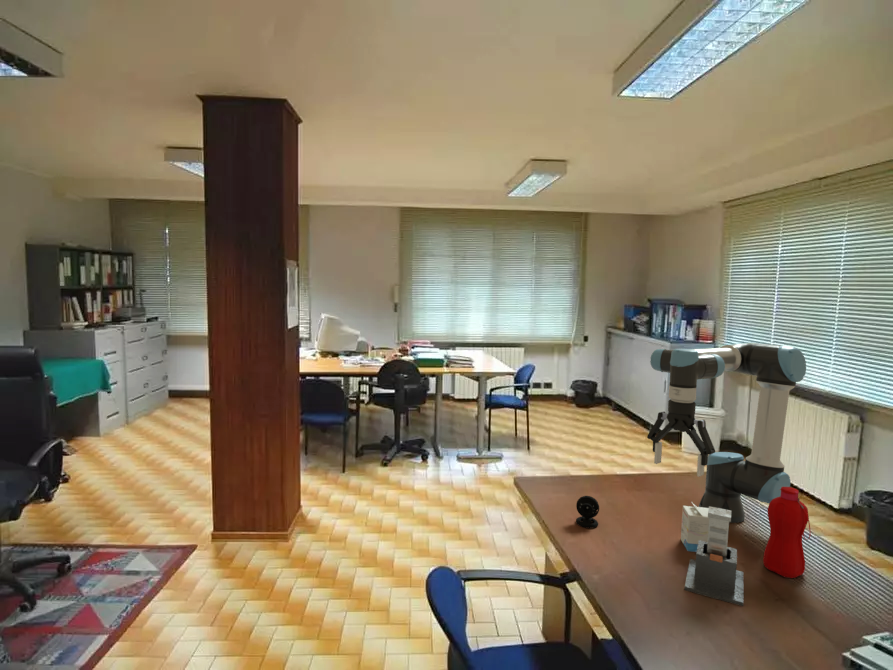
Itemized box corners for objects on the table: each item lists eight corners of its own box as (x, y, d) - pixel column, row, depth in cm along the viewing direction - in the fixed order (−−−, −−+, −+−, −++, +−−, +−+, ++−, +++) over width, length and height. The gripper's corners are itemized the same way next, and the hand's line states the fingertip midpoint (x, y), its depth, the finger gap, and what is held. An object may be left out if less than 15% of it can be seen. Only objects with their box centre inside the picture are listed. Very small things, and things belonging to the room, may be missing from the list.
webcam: (573, 526, 181) (575, 497, 180) (576, 517, 188) (578, 490, 187) (597, 530, 178) (598, 501, 177) (599, 522, 185) (601, 494, 184)
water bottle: (796, 585, 147) (804, 498, 145) (758, 566, 157) (764, 485, 155) (815, 577, 152) (822, 493, 150) (776, 560, 161) (783, 481, 159)
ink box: (715, 554, 164) (718, 512, 163) (686, 551, 165) (689, 509, 164) (707, 542, 172) (710, 502, 171) (680, 539, 174) (682, 499, 173)
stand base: (690, 561, 158) (692, 529, 158) (743, 575, 152) (745, 541, 151) (684, 589, 143) (686, 554, 142) (743, 606, 136) (746, 569, 135)
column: (704, 571, 151) (709, 506, 150) (726, 576, 148) (731, 510, 147) (703, 580, 146) (708, 513, 145) (725, 586, 143) (731, 517, 142)
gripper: (637, 394, 166) (634, 460, 167) (718, 409, 146) (713, 483, 148) (651, 392, 170) (648, 456, 172) (730, 406, 150) (726, 478, 152)
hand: (678, 469), depth 160 cm, fingers open, 13 cm apart
